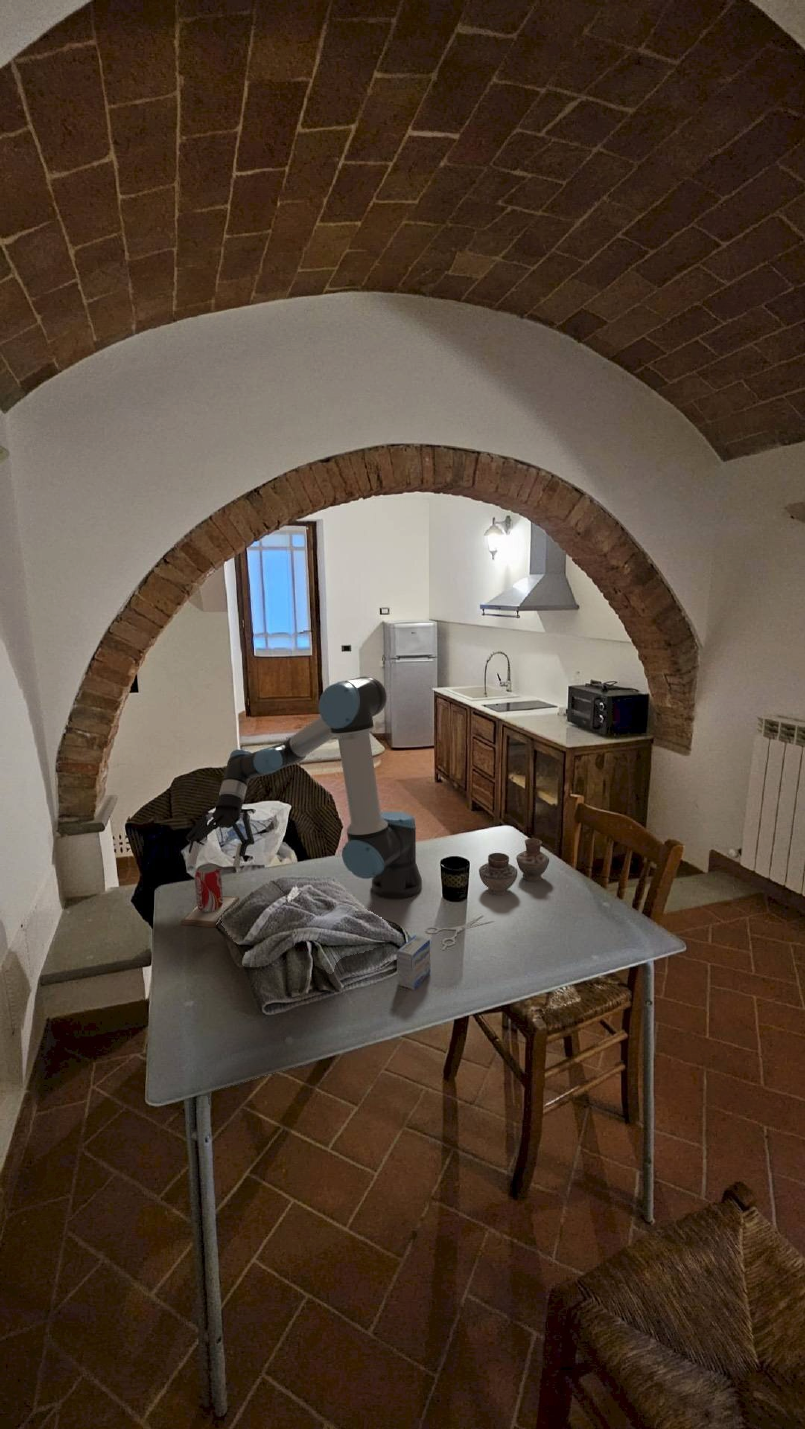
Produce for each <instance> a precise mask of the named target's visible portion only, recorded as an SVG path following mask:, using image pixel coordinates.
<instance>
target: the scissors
mask: <svg viewBox="0 0 805 1429" xmlns="http://www.w3.org/2000/svg"><path fill="white" fill-rule="evenodd" d="M482 917H483V915H481V916H479V917H476V918H474V919H472V920H470V921H469V922H467V923H464V925H458V926H454V927H442V928H440V927H436V926H429V927H426V928H425V930H424V931H425V933H426V934H430V935H434V934H438V933H439V932H440V931H444V930H445V931H455V934H454V935H453V936H452V937H445V938H444V939H443V940H442V945H443V947H442V948H441V951H443V952H444V951H446V948H448V947H453V946H454V945H455V943H456V940H455V939H456V938H457V937H458V934H459V933H461V932H462V931H464V930H467V929H471V928H474V927H475V928H476V927H478V926H483V925H487V924H491V923H492V922H493V923H494V920H492V921H486V922H481V923H477V924H476V923H475V922H477V921H478V920H480V919H481V918H482ZM474 923H475V924H474ZM430 929H435V930H434V931H428V930H430ZM447 941H452V942H451V943H449V944H448V943H446V942H447Z"/></svg>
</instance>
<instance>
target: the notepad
mask: <svg viewBox="0 0 805 1429" xmlns="http://www.w3.org/2000/svg"><path fill="white" fill-rule="evenodd" d="M237 902H238V903H239V902H240V896H227V895H223V905H222V906H221V907H220V908H219V909H217V910H216V911H213V912H203V911H201V910H199V909H198V906H197V905H195V906H194V908H192V910H191V911H190V912H188V913H187V914H186V916H184V918H182V919H181V921H180V923H181V925H185V926H194V927H195V926H196V927H206V928H207V927H209V928H217V927H216V923H217V922H218V920H219V918H220V917H222V914H223V913H224V911H225V910H226V909H228V908H229V907H231V906H233V905H235V904H236V903H237ZM238 903H237V904H238ZM237 904H236V905H237ZM236 905H235V906H236Z"/></svg>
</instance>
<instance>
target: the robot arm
mask: <svg viewBox="0 0 805 1429" xmlns="http://www.w3.org/2000/svg"><path fill="white" fill-rule="evenodd" d="M387 698H388V696H387V691H386V688H385V687H384V685H383V683H382V682H381V681H379V680H378V679H377V678H375V677H371V676H360V677H356V678H351V679H348V680H347V679H346V680H341V681H337V682H335V683H333V684H330V685H329V686H328V687H326V688H325V689H324V691H323V692H322V693H321V695H320V697H319V700H318V701H319V702H318V712H319V715H320V716H318V717H317V718H316V719H315V720H313V721H311V723H309V724H308V725H306V726H305V727H303V728H302V729H300V730H299V731H298V732H296V733H295V734H293V735H291V736H290V737H289V738H288V739H286V740H285V741H283V742H281V743H279V744H276V745H273V746H270V747H266V748H262V749H260V750H258V751H254V752H251V751H249V750H246V749H242V748H241V749H234V750H233V751H232V752H231V753H230V756H229V758H228V760H227V763H226V768H225V772H224V776H223V778H222V782H221V786H220V789H219V793H218V794H219V795H218V797H217V801H216V804H215V810H214V811H213V812H212V811H211V812H210V811H209V810H204V811H203V813H202V816H201V817H200V819H199V820H197V823H196V824H195V825H194V826H193V828H192V829H191V830H190V831H189V832H188V834H187V835H186V836H185V839H186V840H187V841H188V842H190V845H189V849H188V854H189V858H188V859H187V860H188V861H187V864H188V865H189V866H191V868H192V867H193V868H194V867H195V864H196V861H197V857H198V853H199V850H200V846H201V844H199V843H200V842H202V841H203V840H204V839H205V838H206V837H207V836H208V835H210V834H211V833H212V832H213V831H214V830H217V829H218V828H220V829H224V828H226V829H230V828H232V829H233V831H234V832H235V834H236V835H237V837H238V839H239V840H240V843H237V847H236V851H235V856H234V860H233V864H232V866H233V867H234V868H235V869H237V870H238V869H240V865H241V861H242V858H243V857H245V856H246V853H247V848H248V846H250V845H255V838H254V834H253V831H252V828H251V823H250V819H251V815H250V814H249V812H247V811H244V812H242V809H243V804H244V800H245V798H246V794H247V793H246V792H247V790H248V785H249V781H250V780H251V779H255V778H258V777H262V776H265V775H271V774H274V773H275V772H278V771H279V770H281V769H283V768H287V767H289V766H293V765H296V764H298V763H300V762H302V761H303V760H305V758H306V757H307V756H308V755H309V754H310V753H312V752H313V751H315V750H317V749H318V748H319V747H321V746H323V745H324V744H326V743H327V742H329V741H330V740H332V739H333V738H337V740H338V741H337V742H338V748H339V753H340V760H341V768H342V773H343V774H342V775H343V780H344V786H345V793H346V799H347V800H346V801H347V805H348V811H349V818H350V824H349V825H348V826H347V828H346V836H347V842H345V844H344V846H343V847H342V850H341V857H342V861H343V863H344V866H345V868H346V869H347V870H348V871H349V872H351V873H352V874H353V875H354V876H355V877H357V878H361V879H365V880H367V879H371V890H372V891H373V893H374V894H375V895H377V896H379V897H382V898H384V899H385V898H386V899H393V900H396V899H405V898H410V897H413V896H415V895H417V894H419V892H421V890H422V889H423V880H422V877H421V874H420V871H419V868H418V865H417V863H416V861H417V858H416V856H417V852H416V851H417V849H416V848H417V847H416V845H417V844H416V843H417V840H416V839H417V838H416V837H417V836H416V833H417V832H416V829H417V827H416V819H415V817H414V816H413V815H412V814H410V813H406V812H401V811H383V812H382V811H381V804H380V798H379V791H378V790H379V789H378V785H377V778H376V772H375V770H376V769H375V765H374V758H373V757H374V756H373V750H372V743H371V737H370V733H371V732H372V730H373V729H374V728H375V725H374V718H373V717H375V716H377V715H379V714H380V713H381V712H382V711H383V710H384V708H385V706H386V703H387ZM240 819H241V820H242V823H243V827H244V831H245V835H246V837H245V835H244V834H243V833H242V831H241V829H240V827H239V825H238V824H237V822H239V820H240ZM246 838H247V839H246Z"/></svg>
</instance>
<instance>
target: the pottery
mask: <svg viewBox="0 0 805 1429" xmlns="http://www.w3.org/2000/svg"><path fill="white" fill-rule="evenodd" d="M542 843H543V842H542V840H540V839H538V838H526V839H525V840H524V844H525V850H524V851H521V852H520V853H519V854H517V855H516V858H515V859H516V864H517V866H518V869H519V870H520V872H522V878H523V879H524V880H526V881H529V882H539V881H541V880H542V875H543V874H544V873H545V872H546V870H547V868H548V866H549V863H550V858H549V856H547V855H546V854H545V853H543V852H542V851H541V847H542ZM509 862H510V856H509V855H508V854H505V853H502V852H493V853H489V855H488V856H487V863H484V864H483V865H481V866H480V867H479V868H478V876H479V878H480V880H481V881H482V882H481V883H483V884H484V886H485V887H486V888H487V890H488V892H489V893H490V894H492V895H495V896H501V895H505V894H507V893H508V889H509V888H511V887H512V886H513V885H514V884H515V882H516V880H517V878H518V869H517V868H516V867H515V866H514V865H512V864H510V863H509Z"/></svg>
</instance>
